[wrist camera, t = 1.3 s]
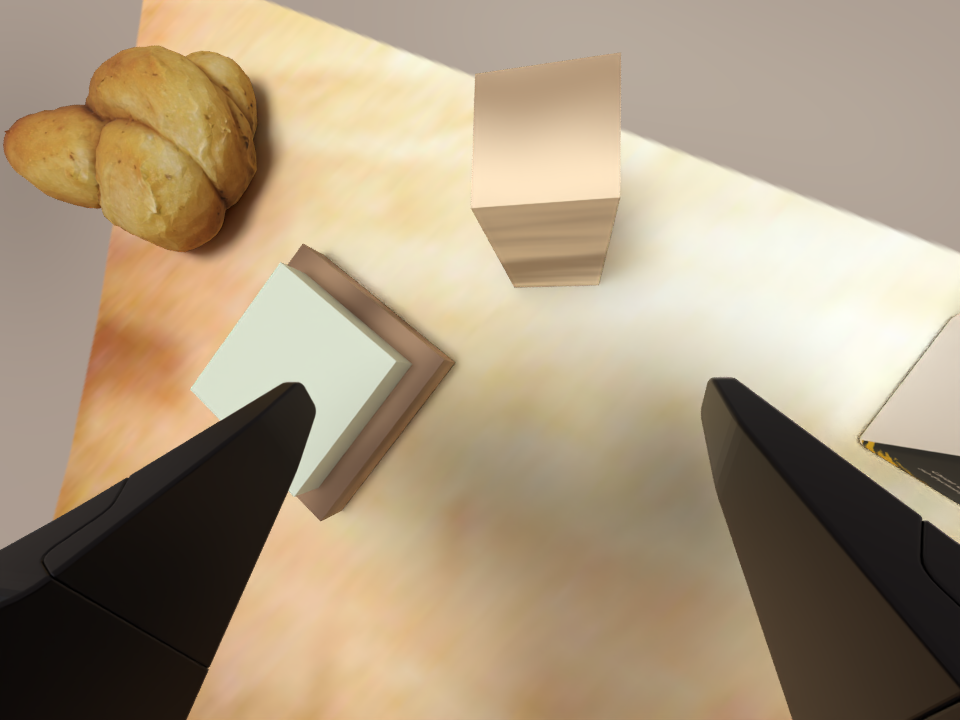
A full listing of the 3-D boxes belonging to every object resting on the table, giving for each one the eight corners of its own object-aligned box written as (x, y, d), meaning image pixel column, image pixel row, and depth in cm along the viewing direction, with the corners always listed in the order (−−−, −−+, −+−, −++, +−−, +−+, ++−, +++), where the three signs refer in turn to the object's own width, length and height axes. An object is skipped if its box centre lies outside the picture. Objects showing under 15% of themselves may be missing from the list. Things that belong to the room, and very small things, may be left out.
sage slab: (412, 363, 21) (396, 361, 19) (318, 487, 22) (294, 496, 20) (304, 273, 23) (280, 262, 21) (221, 389, 24) (190, 389, 22)
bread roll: (227, 62, 29) (98, -62, 21) (320, 131, 26) (214, 22, 19) (126, 211, 30) (-34, 146, 22) (207, 289, 27) (62, 248, 20)
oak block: (598, 285, 22) (620, 197, 12) (514, 287, 23) (470, 208, 13) (599, 203, 22) (620, 52, 12) (516, 208, 23) (475, 73, 13)
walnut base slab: (455, 362, 23) (444, 359, 21) (341, 510, 24) (320, 521, 22) (323, 254, 25) (302, 243, 24) (224, 392, 26) (196, 392, 24)
